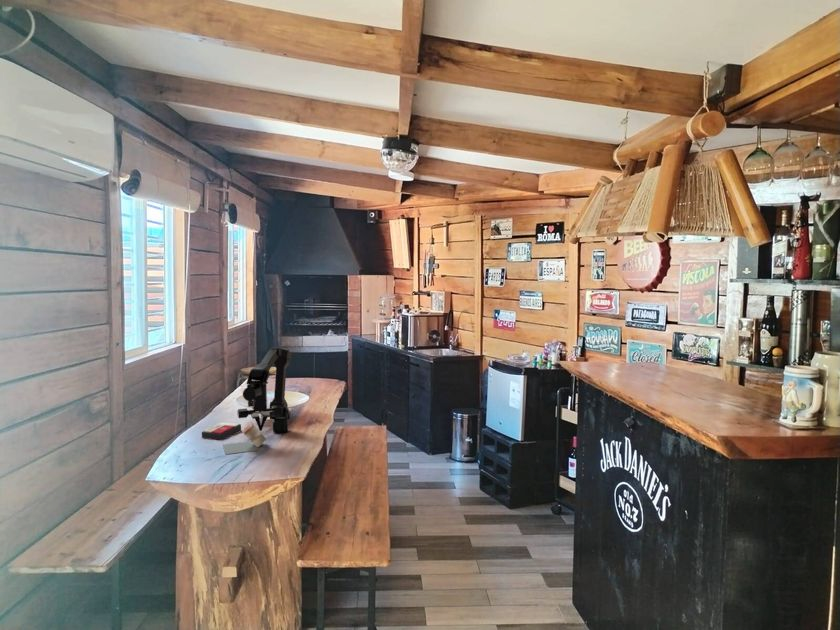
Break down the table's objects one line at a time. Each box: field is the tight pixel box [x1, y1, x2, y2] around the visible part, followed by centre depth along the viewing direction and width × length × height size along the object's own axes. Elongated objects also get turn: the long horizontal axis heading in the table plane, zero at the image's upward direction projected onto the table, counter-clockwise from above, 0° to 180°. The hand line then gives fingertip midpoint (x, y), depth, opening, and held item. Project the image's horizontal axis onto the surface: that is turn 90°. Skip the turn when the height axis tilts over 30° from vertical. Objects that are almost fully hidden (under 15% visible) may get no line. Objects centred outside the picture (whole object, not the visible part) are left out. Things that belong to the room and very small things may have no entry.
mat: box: [222, 440, 259, 455], centre depth 232 cm, size 13×14×1 cm
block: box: [241, 422, 267, 448], centre depth 234 cm, size 5×5×9 cm
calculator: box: [201, 421, 242, 441], centre depth 252 cm, size 11×4×15 cm
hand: (260, 430), depth 235 cm, fingers closed
